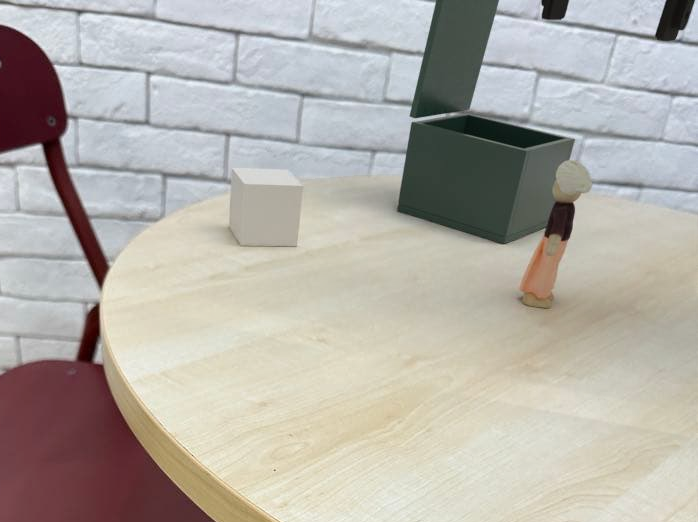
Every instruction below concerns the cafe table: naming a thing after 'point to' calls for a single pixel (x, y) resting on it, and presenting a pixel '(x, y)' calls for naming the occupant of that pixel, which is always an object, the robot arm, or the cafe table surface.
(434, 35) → the bin lid
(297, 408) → the cafe table surface
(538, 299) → the grandmother figurine
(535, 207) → the bin
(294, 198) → the light grey cube
